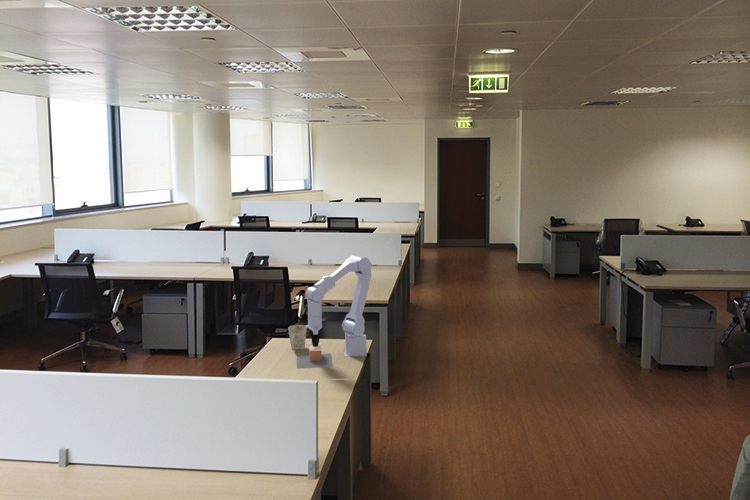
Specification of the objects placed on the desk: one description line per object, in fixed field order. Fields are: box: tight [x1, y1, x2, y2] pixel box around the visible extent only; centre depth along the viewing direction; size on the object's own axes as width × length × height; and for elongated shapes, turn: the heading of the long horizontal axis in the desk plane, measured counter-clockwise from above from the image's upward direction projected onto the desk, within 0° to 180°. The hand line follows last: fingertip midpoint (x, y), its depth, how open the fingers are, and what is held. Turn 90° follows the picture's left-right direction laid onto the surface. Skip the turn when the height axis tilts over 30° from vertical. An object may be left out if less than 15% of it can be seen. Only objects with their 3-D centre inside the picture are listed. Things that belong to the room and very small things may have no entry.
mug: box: [287, 324, 308, 351], centre depth 292 cm, size 8×13×10 cm, turn 174°
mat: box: [296, 353, 334, 369], centre depth 276 cm, size 15×18×1 cm
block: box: [308, 339, 322, 361], centre depth 278 cm, size 5×5×9 cm
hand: (315, 346), depth 273 cm, fingers closed
